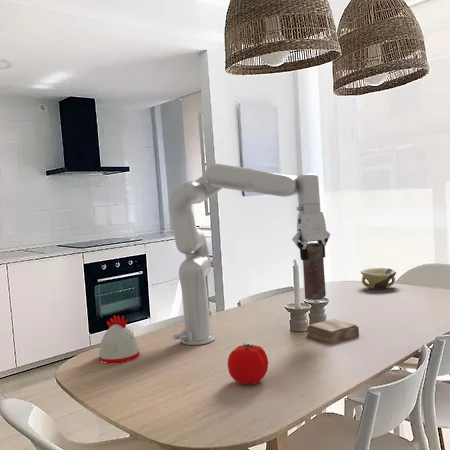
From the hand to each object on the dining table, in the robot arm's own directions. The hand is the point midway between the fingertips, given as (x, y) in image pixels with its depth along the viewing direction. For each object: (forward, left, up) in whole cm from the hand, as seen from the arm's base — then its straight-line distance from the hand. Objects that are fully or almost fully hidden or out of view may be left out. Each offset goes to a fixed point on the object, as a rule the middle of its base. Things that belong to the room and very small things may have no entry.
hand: (313, 258), depth 175 cm
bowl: (+79, +45, -29) cm, 96 cm away
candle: (0, 0, -15) cm, 15 cm away
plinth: (+6, -1, -29) cm, 30 cm away
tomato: (-41, -18, -29) cm, 53 cm away
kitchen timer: (-64, +31, -30) cm, 77 cm away
